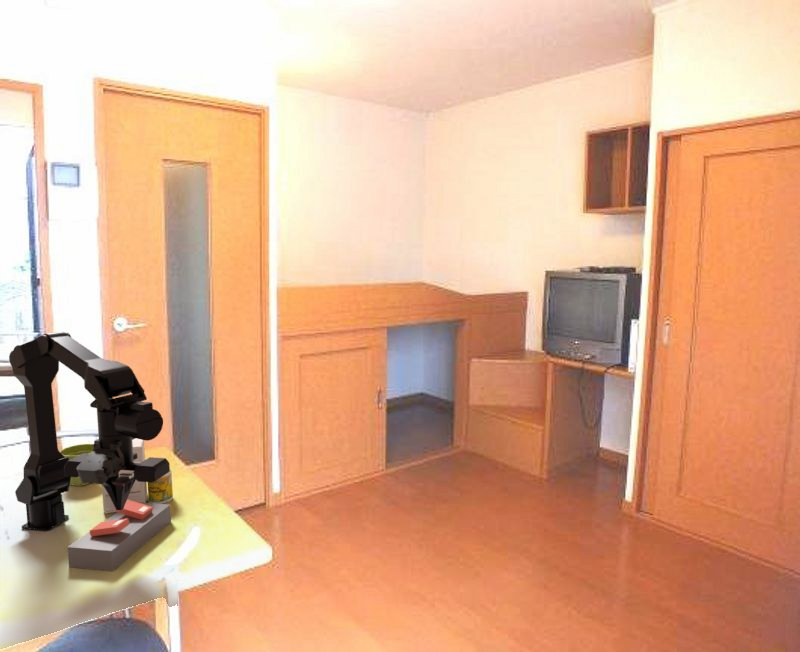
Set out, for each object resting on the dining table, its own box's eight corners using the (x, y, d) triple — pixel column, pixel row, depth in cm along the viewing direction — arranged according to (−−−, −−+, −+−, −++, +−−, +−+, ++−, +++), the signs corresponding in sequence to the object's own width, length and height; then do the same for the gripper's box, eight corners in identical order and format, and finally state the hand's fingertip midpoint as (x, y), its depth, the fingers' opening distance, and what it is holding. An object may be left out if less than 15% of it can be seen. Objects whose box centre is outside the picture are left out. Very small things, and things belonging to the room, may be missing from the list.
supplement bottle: (175, 494, 141) (173, 457, 140) (169, 504, 136) (167, 465, 135) (152, 496, 140) (150, 458, 139) (145, 505, 135) (143, 466, 134)
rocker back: (115, 511, 120) (116, 506, 120) (126, 504, 123) (127, 499, 123) (142, 519, 119) (142, 514, 119) (152, 512, 123) (152, 506, 122)
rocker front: (90, 536, 112) (89, 530, 112) (103, 527, 116) (101, 521, 116) (118, 532, 111) (116, 526, 111) (129, 523, 115) (128, 517, 114)
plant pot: (63, 478, 151) (60, 446, 150) (103, 472, 155) (101, 441, 154) (59, 491, 143) (56, 458, 142) (102, 485, 147) (100, 452, 146)
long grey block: (69, 567, 109) (67, 547, 108) (144, 510, 132) (143, 494, 132) (112, 571, 107) (111, 550, 107) (180, 513, 131) (179, 496, 130)
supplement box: (107, 498, 139) (103, 438, 137) (147, 493, 142) (144, 434, 140) (102, 514, 130) (98, 450, 129) (145, 508, 134) (142, 445, 132)
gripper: (39, 442, 104) (45, 525, 106) (134, 448, 101) (139, 533, 103) (82, 424, 115) (87, 499, 117) (169, 429, 112) (173, 506, 114)
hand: (120, 509), depth 113 cm, fingers closed
